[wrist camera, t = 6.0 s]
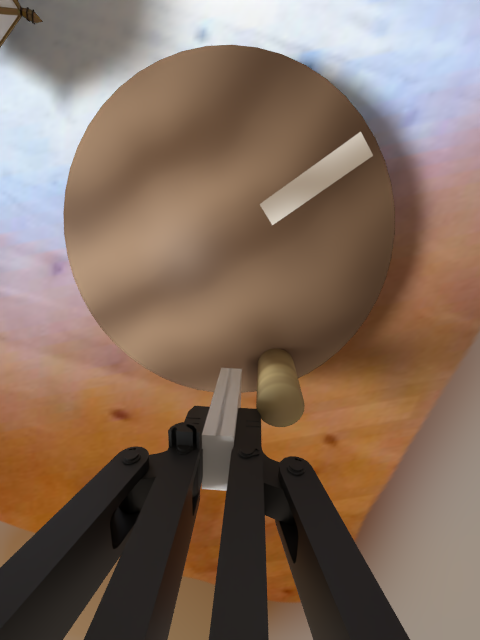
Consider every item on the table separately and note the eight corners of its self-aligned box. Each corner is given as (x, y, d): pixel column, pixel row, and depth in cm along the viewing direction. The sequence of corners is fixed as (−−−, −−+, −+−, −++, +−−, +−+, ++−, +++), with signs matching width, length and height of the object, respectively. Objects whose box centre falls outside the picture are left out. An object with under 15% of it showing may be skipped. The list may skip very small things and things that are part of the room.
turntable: (24, 203, 20) (-100, 184, 13) (273, -21, 16) (282, -220, 9) (195, 422, 23) (168, 495, 17) (434, 287, 19) (528, 312, 12)
